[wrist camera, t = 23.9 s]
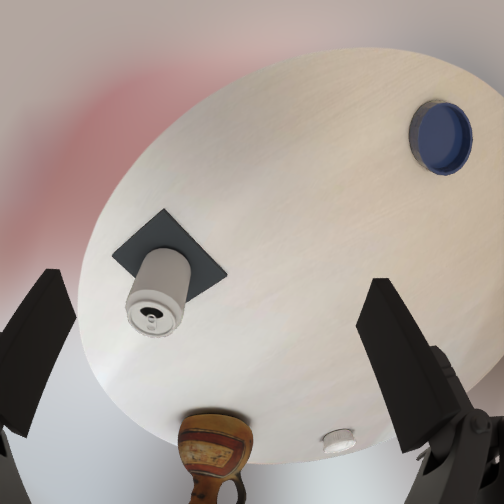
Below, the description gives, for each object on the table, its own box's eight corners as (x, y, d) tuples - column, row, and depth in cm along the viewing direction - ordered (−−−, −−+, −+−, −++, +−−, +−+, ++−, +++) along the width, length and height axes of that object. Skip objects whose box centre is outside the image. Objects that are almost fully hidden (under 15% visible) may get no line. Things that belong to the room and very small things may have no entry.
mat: (112, 254, 43) (111, 256, 43) (164, 208, 40) (163, 210, 39) (173, 308, 49) (172, 311, 49) (227, 274, 46) (227, 276, 46)
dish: (397, 120, 34) (406, 123, 32) (448, 89, 31) (458, 91, 29) (424, 182, 39) (433, 188, 37) (470, 150, 36) (479, 154, 34)
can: (194, 249, 43) (182, 304, 33) (189, 289, 47) (179, 346, 36) (144, 241, 42) (119, 293, 31) (144, 281, 45) (124, 337, 35)
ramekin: (357, 431, 84) (361, 444, 80) (330, 443, 88) (332, 455, 83) (345, 424, 80) (348, 438, 75) (315, 437, 83) (317, 450, 78)
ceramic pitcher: (186, 399, 65) (178, 512, 40) (263, 411, 70) (272, 516, 44) (175, 427, 75) (168, 518, 49) (239, 437, 79) (243, 523, 54)
